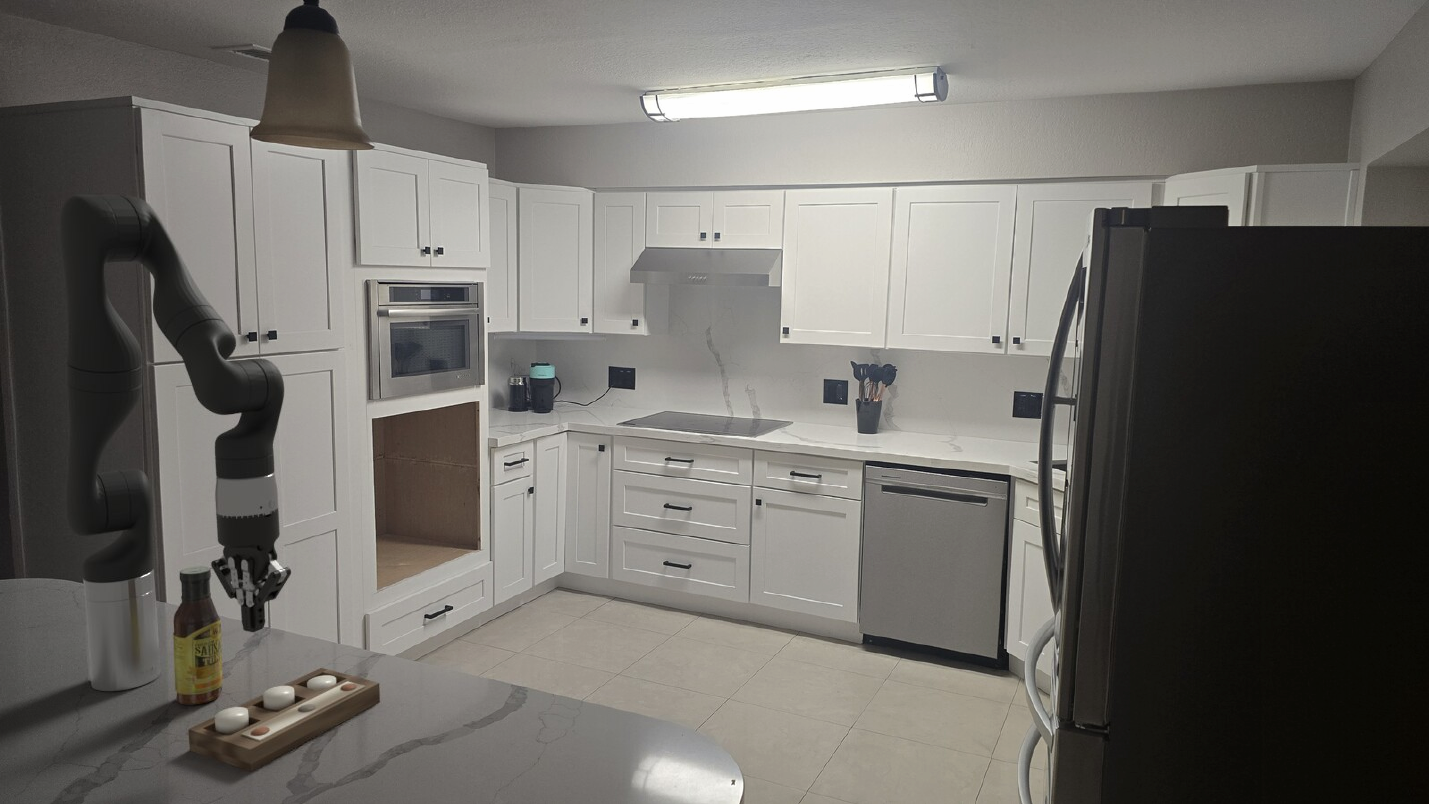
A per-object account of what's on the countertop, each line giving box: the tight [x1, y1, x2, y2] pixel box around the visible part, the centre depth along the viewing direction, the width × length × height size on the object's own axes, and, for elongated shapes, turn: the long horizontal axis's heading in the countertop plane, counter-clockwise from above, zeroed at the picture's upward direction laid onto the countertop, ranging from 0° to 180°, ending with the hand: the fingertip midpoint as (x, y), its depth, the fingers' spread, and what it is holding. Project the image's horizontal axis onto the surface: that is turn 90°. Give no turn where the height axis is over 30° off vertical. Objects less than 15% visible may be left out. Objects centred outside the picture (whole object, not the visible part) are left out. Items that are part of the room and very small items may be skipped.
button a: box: [307, 675, 336, 691], centre depth 138 cm, size 4×4×2 cm
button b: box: [262, 685, 295, 712], centre depth 131 cm, size 4×4×2 cm
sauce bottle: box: [172, 565, 224, 706], centre depth 137 cm, size 7×6×20 cm
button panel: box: [187, 667, 381, 772], centre depth 130 cm, size 12×22×3 cm, turn 155°
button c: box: [214, 706, 249, 735], centre depth 124 cm, size 4×4×2 cm
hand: (254, 629), depth 126 cm, fingers closed
